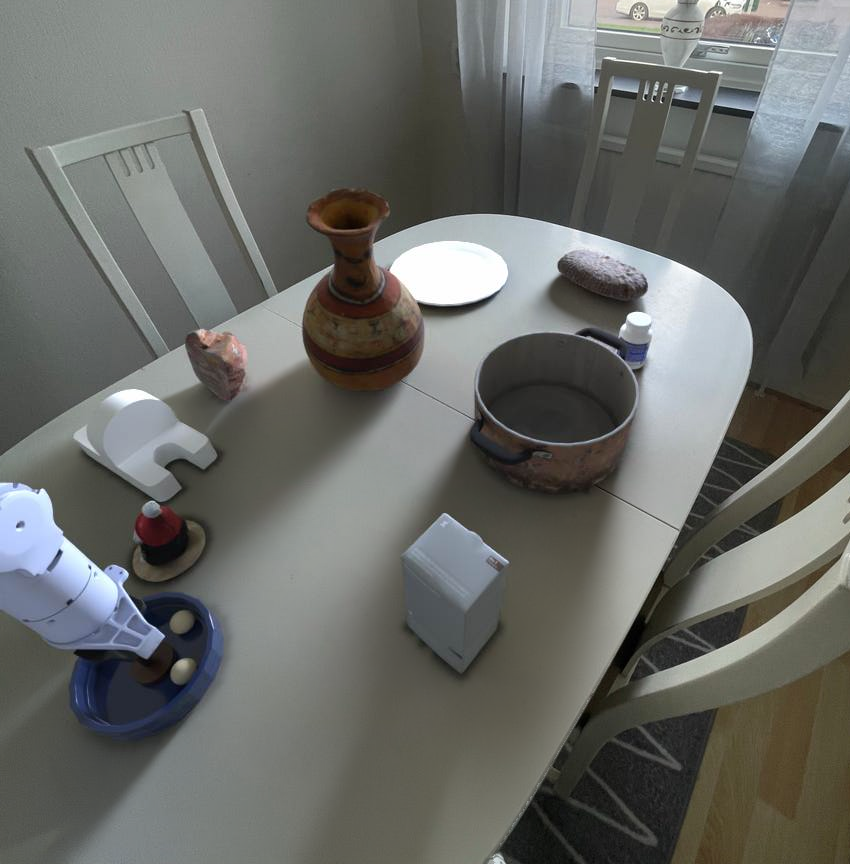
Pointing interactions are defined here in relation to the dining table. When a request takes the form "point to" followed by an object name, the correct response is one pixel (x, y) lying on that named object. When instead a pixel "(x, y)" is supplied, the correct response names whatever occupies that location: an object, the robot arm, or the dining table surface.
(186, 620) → the dumpling
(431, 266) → the plate
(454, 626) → the cosmetic box
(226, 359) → the stone
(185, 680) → the dumpling
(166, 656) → the brown plunger
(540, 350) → the saucepan
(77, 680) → the bowl
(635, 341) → the pill bottle
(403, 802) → the dining table surface
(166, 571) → the figurine
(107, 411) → the tape dispenser
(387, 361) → the ceramic pitcher
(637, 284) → the decorative stone
